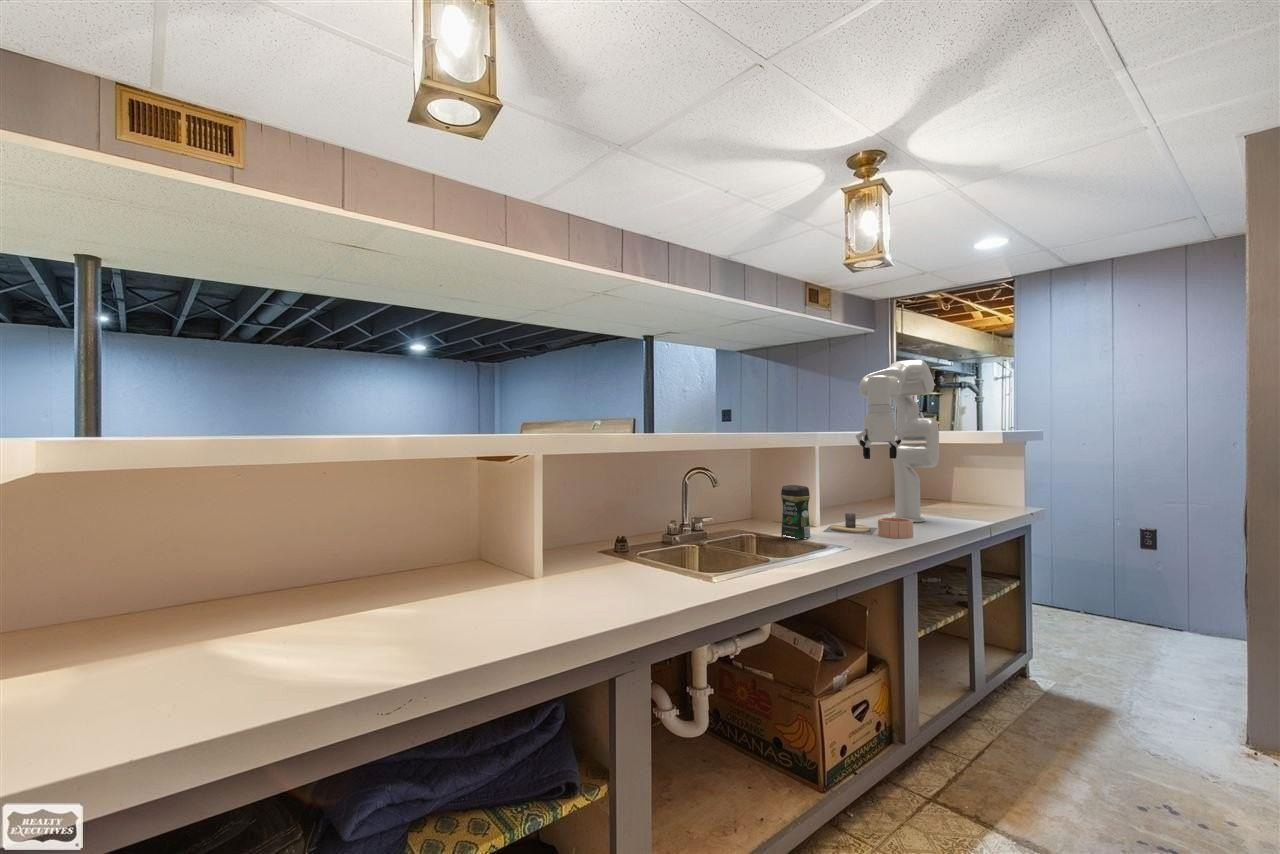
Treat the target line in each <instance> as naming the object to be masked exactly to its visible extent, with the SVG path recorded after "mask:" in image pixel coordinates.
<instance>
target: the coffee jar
mask: <svg viewBox="0 0 1280 854" xmlns="http://www.w3.org/2000/svg"><path fill="white" fill-rule="evenodd" d="M810 495H811V494H810V490H809V487H808V486H805V485H797V484H788V485H782V487H781V493H780V497H781V501H782V517H781V518H782V519H781V536H782V535H786V536H791V537H795V538H808V539H809V538H810V537H811V525H810V524H811V523H810V516H809V502H810V497H811V496H810Z"/></svg>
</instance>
